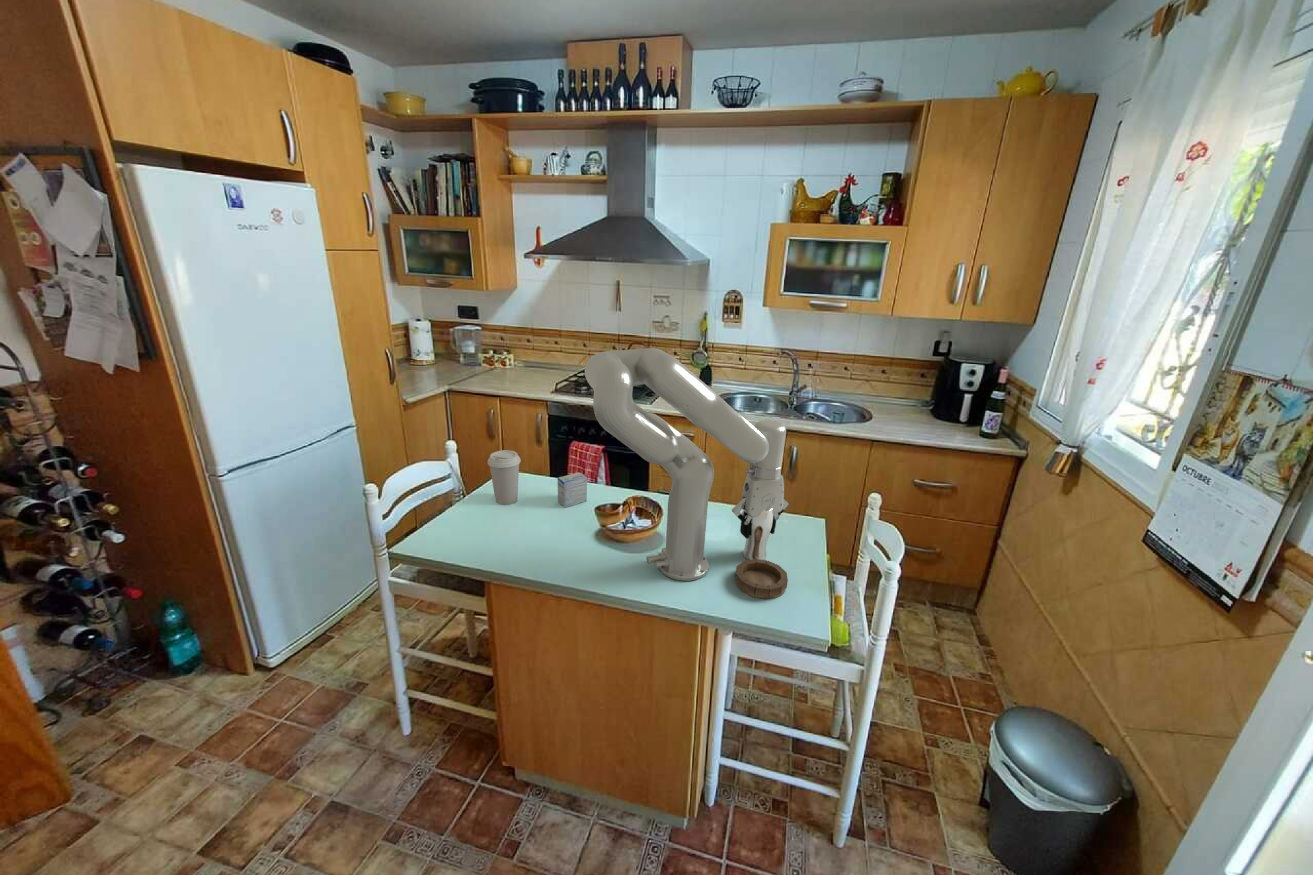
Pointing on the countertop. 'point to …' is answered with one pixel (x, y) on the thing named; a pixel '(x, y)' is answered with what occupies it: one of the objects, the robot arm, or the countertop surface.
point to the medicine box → (572, 489)
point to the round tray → (761, 579)
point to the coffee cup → (505, 476)
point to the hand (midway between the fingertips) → (757, 533)
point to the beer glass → (758, 535)
